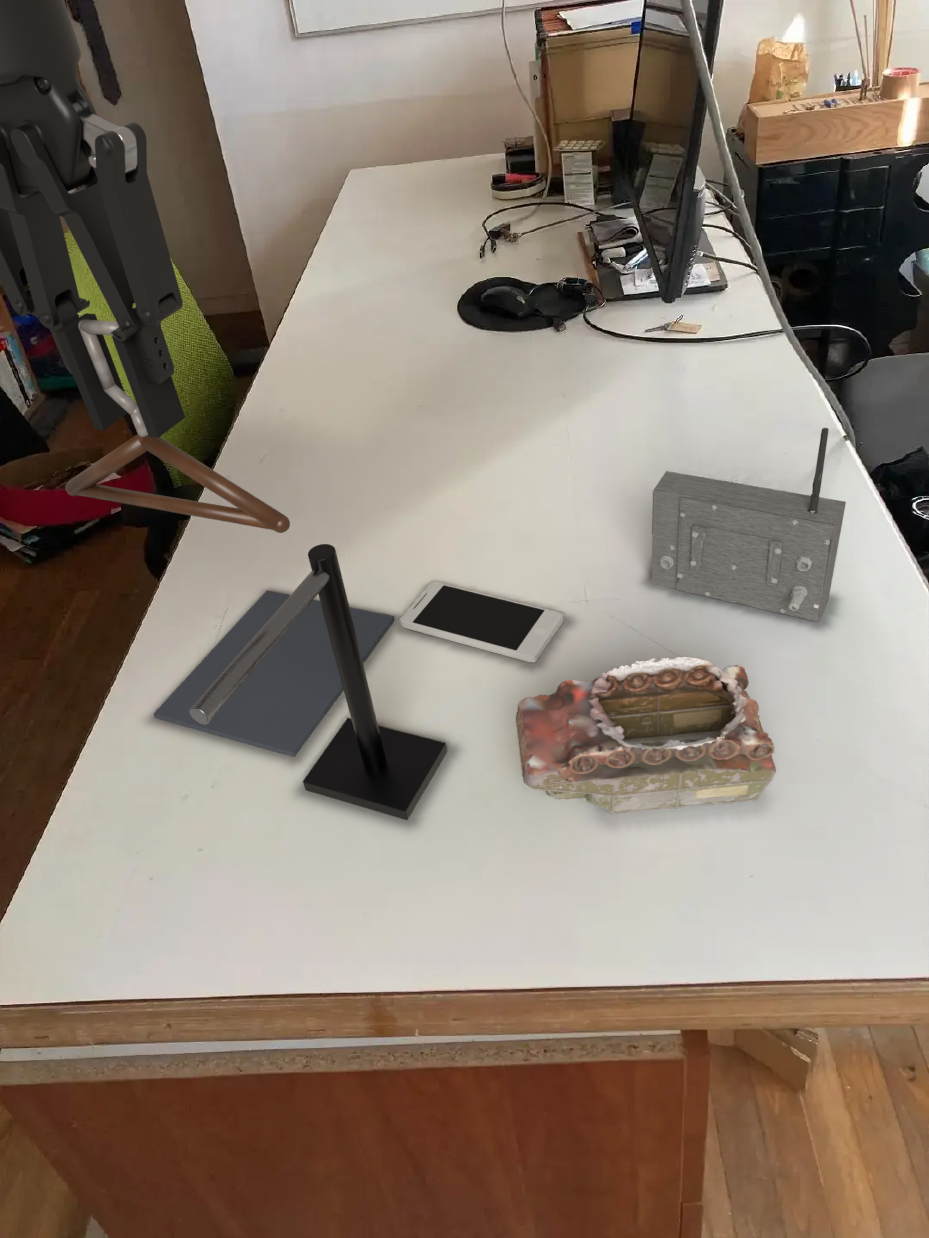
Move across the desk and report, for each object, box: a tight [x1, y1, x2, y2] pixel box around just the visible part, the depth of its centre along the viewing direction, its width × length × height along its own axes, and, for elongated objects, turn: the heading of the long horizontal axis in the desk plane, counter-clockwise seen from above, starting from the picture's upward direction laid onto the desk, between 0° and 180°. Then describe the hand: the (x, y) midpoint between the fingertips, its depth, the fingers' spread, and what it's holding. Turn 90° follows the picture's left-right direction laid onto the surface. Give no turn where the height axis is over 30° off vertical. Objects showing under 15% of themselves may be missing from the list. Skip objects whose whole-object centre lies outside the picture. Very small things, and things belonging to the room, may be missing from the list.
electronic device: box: [650, 427, 847, 622], centre depth 88 cm, size 17×7×20 cm, turn 61°
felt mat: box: [153, 590, 396, 758], centre depth 93 cm, size 16×20×1 cm
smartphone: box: [399, 581, 564, 663], centre depth 95 cm, size 7×16×1 cm, turn 62°
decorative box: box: [515, 656, 777, 815], centre depth 73 cm, size 13×20×10 cm, turn 86°
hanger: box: [64, 319, 291, 534], centre depth 59 cm, size 19×1×14 cm, turn 65°
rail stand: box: [189, 543, 448, 821], centre depth 70 cm, size 20×10×24 cm, turn 156°
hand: (139, 422), depth 59 cm, fingers closed on hanger, 4 cm apart
